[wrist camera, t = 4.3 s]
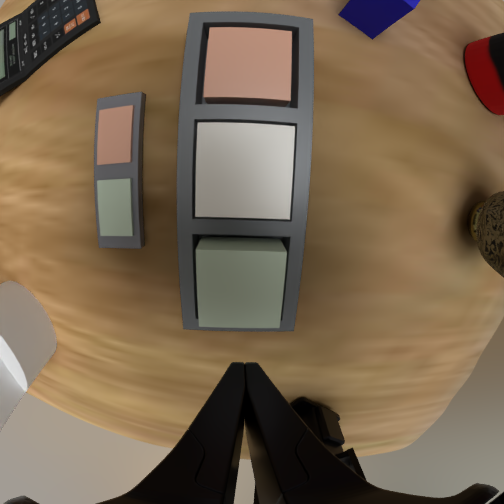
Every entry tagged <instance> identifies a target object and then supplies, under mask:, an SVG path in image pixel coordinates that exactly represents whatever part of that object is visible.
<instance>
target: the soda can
mask: <svg viewBox="0 0 504 504" xmlns="http://www.w3.org/2000/svg"><path fill="white" fill-rule="evenodd" d="M465 65H466V70H467V73H468V76H469V79H470V82H471V84H472V86H473V88H474V90H475V92H476V94H477V95H478V97H479V98H480V100H481V101H482V102H483V104H484V105H485V106H486V107H487V108H488V109H489V110H491V111H492V112H493V113H495V114H497V115H504V33H501V34H497V35H494V36H490V37H487V38H484V39H481V40H478V41H475V42H472V43H470V44H468V46H467V47H466V52H465Z"/></svg>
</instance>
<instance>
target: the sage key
mask: <svg viewBox="0 0 504 504" xmlns="http://www.w3.org/2000/svg"><path fill="white" fill-rule="evenodd" d="M286 258H287V251H286V249H285V247H284V245H283V244H282V242H281V240H280V239H274V238H239V237H202V238H201V240H200V242H199V244H198V246H197V248H196V275H197V299H198V318H199V327H221V328H280V319H281V310H282V300H283V290H284V280H285V269H286Z"/></svg>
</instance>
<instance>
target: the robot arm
mask: <svg viewBox="0 0 504 504" xmlns="http://www.w3.org/2000/svg"><path fill="white" fill-rule="evenodd" d="M244 418H245V429H246V435H247V440H248V446H249V452H250V457H251V462H252V468H253V473H254V478H255V493H254V504H485V503H486V502H488V501H489V500H490V499H491V498H493V497H494V496H495V495H496V494H497V493H498V492H499V490H497V489H496V488H495V487H493V486H490V485H485V484H479V483H476V484H474V485H472V486H470V487H469V488H467V489H466V490H464V491H462V492H461V493H459V494H457V495H455V496H451V497H445V498H433V497H425V496H417V495H410V494H405V493H399V492H394V491H389V490H384V489H381V488H378V487H376V486H374V485H372V484H370V483H369V482H367V481H366V478H365V476H364V473H363V471H362V469H361V466H360V464H359V462H358V459H357V457H356V454H355V452H354V450H353V448H351V449H348V450H347V451H345V452H343V449H342V446H341V445H343V444H344V442H345V440H344V437H343V434H342V431H341V428H340V426H339V423H338V421H339V420H340V417H339V415H337V414H335V412H333V411H331V410H329V409H327V408H325V407H323V406H320V405H317V404H315V403H313V402H311V401H309V400H308V399H306V398H299V399H298V400H296V401H295V402H293V403H292V404H289V403H288V402H287V401H286V399H285V398H284V397H283V396H282V394H281V393H280V392H279V390H278V389H277V388H276V387H275V385H274V384H273V383H272V381H271V380H270V379H269V377H268V376H267V375H266V373H265V372H264V371H263V369H262V368H261V367H260V365H259V364H258V363H256V362H246V363H245V365H244V363H243V362H232V363H231V364H230V366H229V367H228V369H227V370H226V372H225V374H224V375H223V377H222V378H221V380H220V381H219V383H218V384H217V386H216V388H215V389H214V391H213V392H212V394H211V395H210V397H209V398H208V400H207V401H206V403H205V404H204V406H203V407H202V409H201V410H200V412H199V413H198V415H197V416H196V418H195V419H194V421H193V422H192V424H191V425H190V426H189V428H188V429H189V430H187V431H186V432H185V434H184V435H183V436H182V438H181V439H180V440H179V442H178V443H177V444H176V446H175V447H174V448H173V450H172V451H171V452H170V453H169V454H168V455H167V456H166V457H165V459H163V461H161V462H160V463H159V465H157V466H156V468H154V469H153V470H152V471H151V473H149V474H148V475H147V476H146V477H145V478H144V479H143V480H142V481H141V482H140V483H139V484H138V485H137V486H135V487H134V488H133V489H132V490H130V491H129V492H127V493H125V494H123V495H121V496H119V497H116V498H113V499H110V500H107V501H103V502H100V503H97V504H234V497H235V489H236V482H237V475H238V468H239V460H240V453H241V445H242V438H243V430H244ZM4 504H39V503H37V502H35V501H33V500H32V499H30V498H28V497H26V496H20V497H16V498H13V499H10V500H8V501H7V502H5V503H4ZM489 504H504V492H503V493H502V494H500V495H499V496H498V497H497V498H495V499H494V500H493V501H491V502H490V503H489Z"/></svg>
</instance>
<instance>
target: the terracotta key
mask: <svg viewBox="0 0 504 504" xmlns="http://www.w3.org/2000/svg"><path fill="white" fill-rule="evenodd" d="M291 63H292V31H284V30H274V29H262V28H243V27H210V29H209V38H208V48H207V58H206V70H205V82H204V96H203V97H204V99H205V101H206V103H207V104H238V105H260V106H275V107H286V105H287V104H288V103H289V102H290V101H291Z"/></svg>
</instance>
